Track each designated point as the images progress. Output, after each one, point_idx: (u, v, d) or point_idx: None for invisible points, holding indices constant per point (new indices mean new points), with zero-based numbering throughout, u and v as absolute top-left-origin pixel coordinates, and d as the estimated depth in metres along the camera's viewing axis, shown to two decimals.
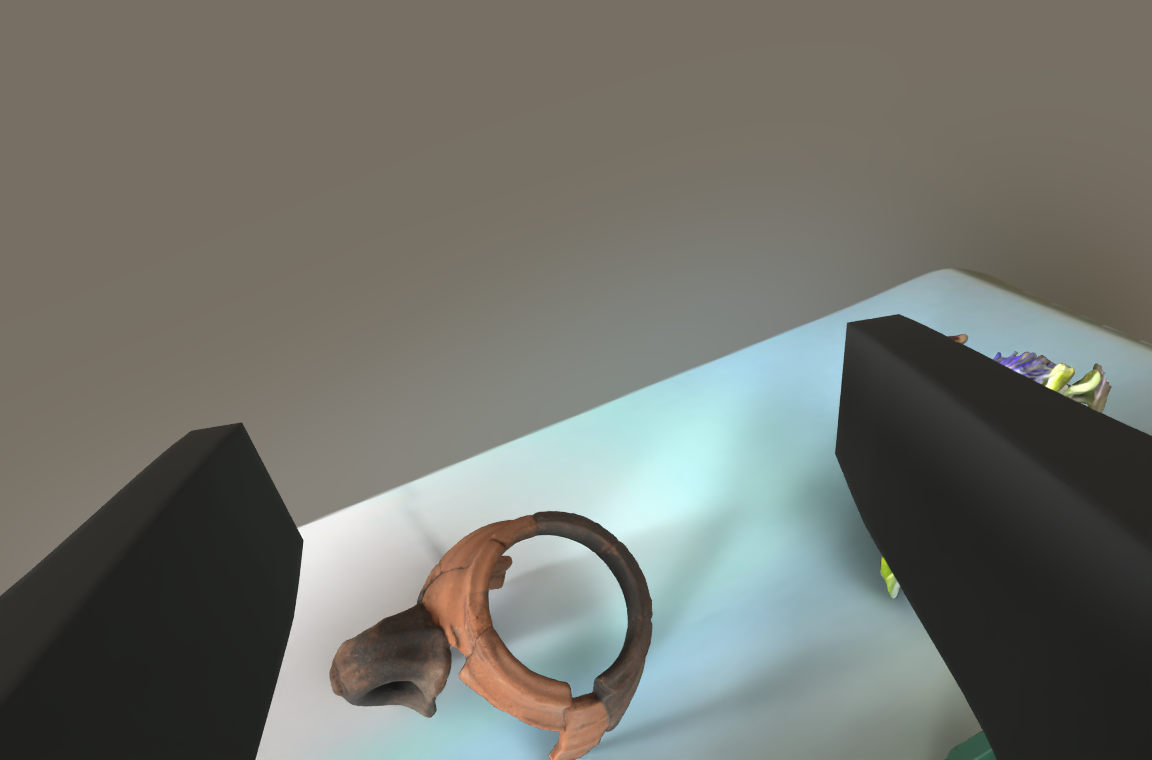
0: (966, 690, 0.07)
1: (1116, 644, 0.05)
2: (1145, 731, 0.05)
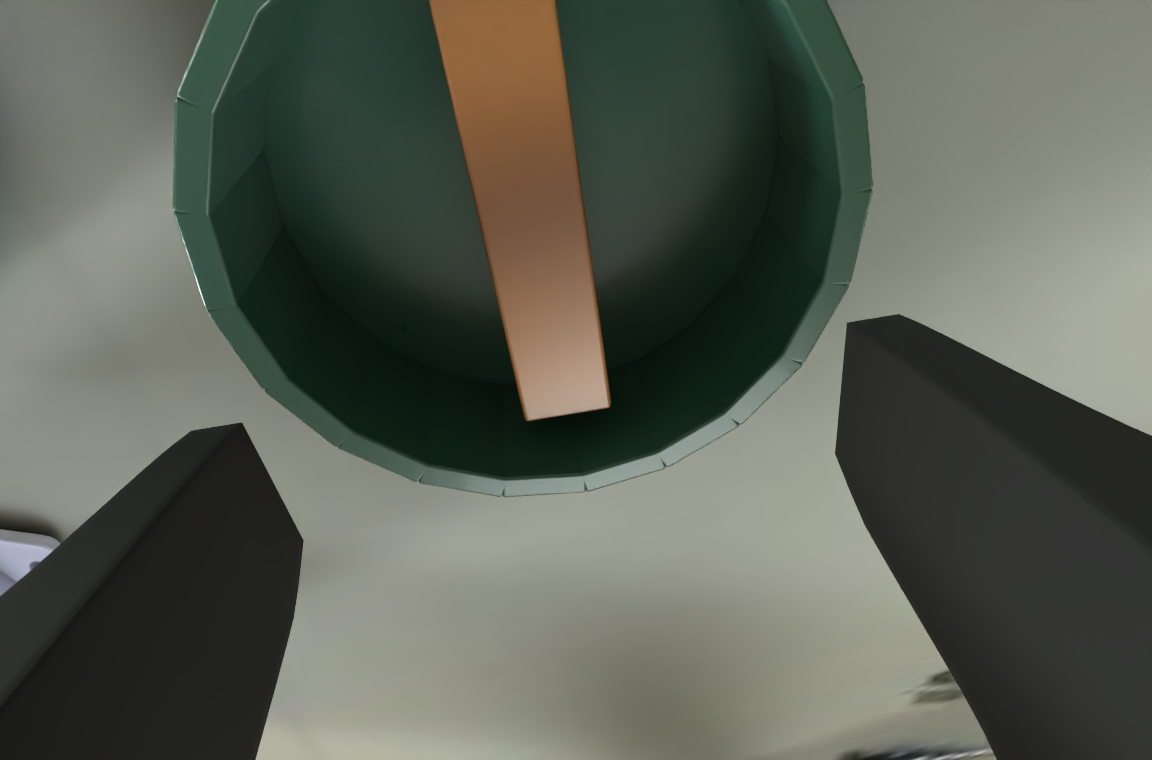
0: (965, 691, 0.07)
1: (1115, 644, 0.05)
2: (1144, 731, 0.05)
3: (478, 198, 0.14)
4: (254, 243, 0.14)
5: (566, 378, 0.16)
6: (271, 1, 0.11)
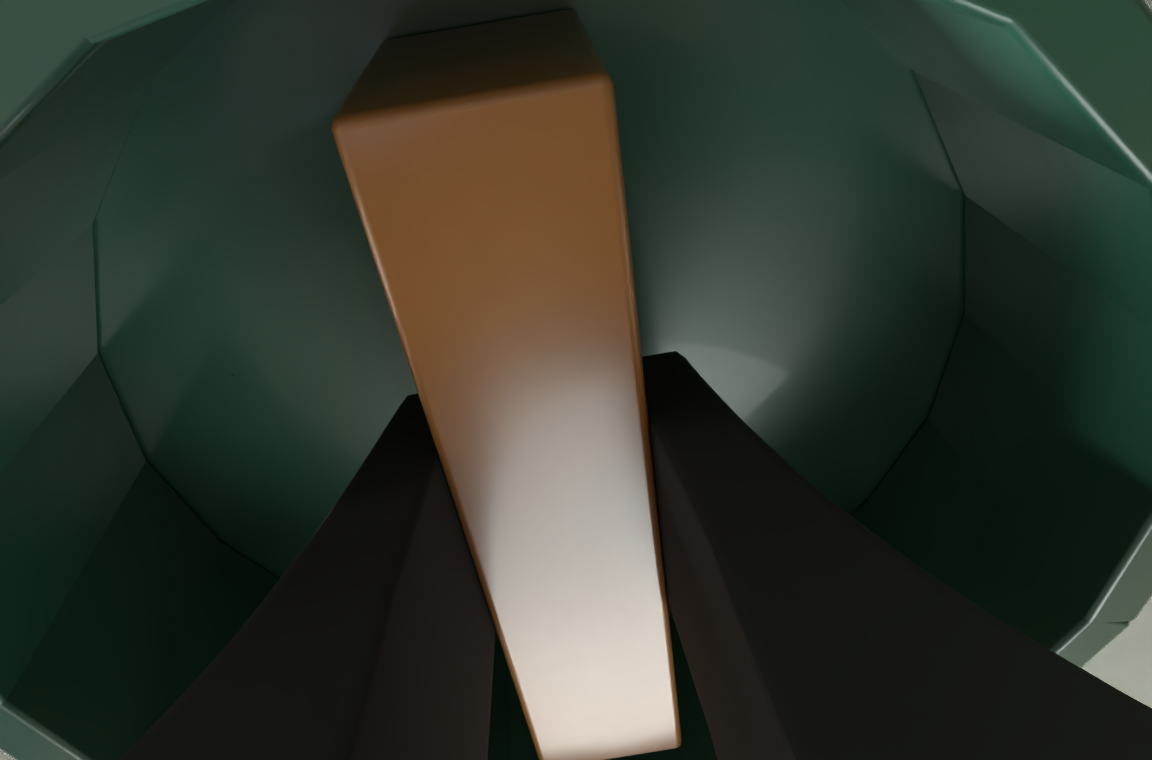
0: (710, 732, 0.07)
1: (741, 704, 0.05)
2: None
3: (460, 498, 0.07)
4: (65, 541, 0.08)
5: (611, 720, 0.10)
6: None
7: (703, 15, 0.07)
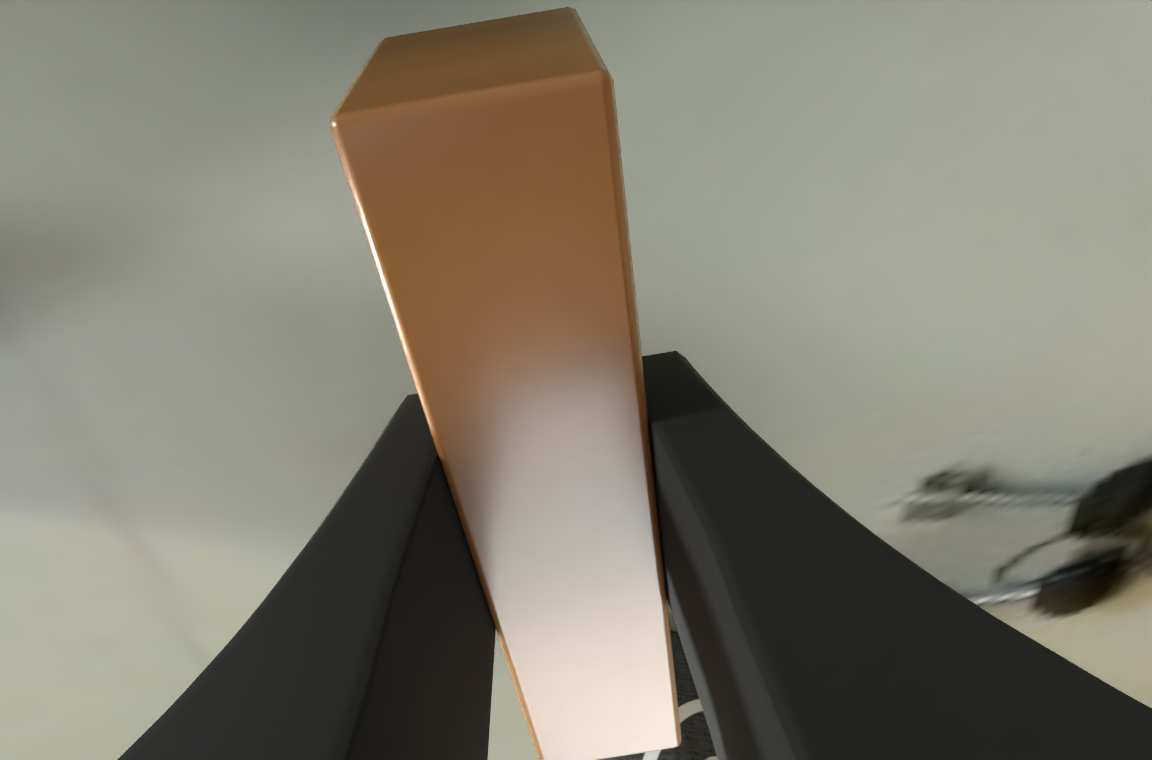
0: (711, 732, 0.07)
1: (741, 704, 0.05)
2: None
3: (460, 496, 0.07)
4: None
5: (611, 719, 0.10)
6: None
7: None
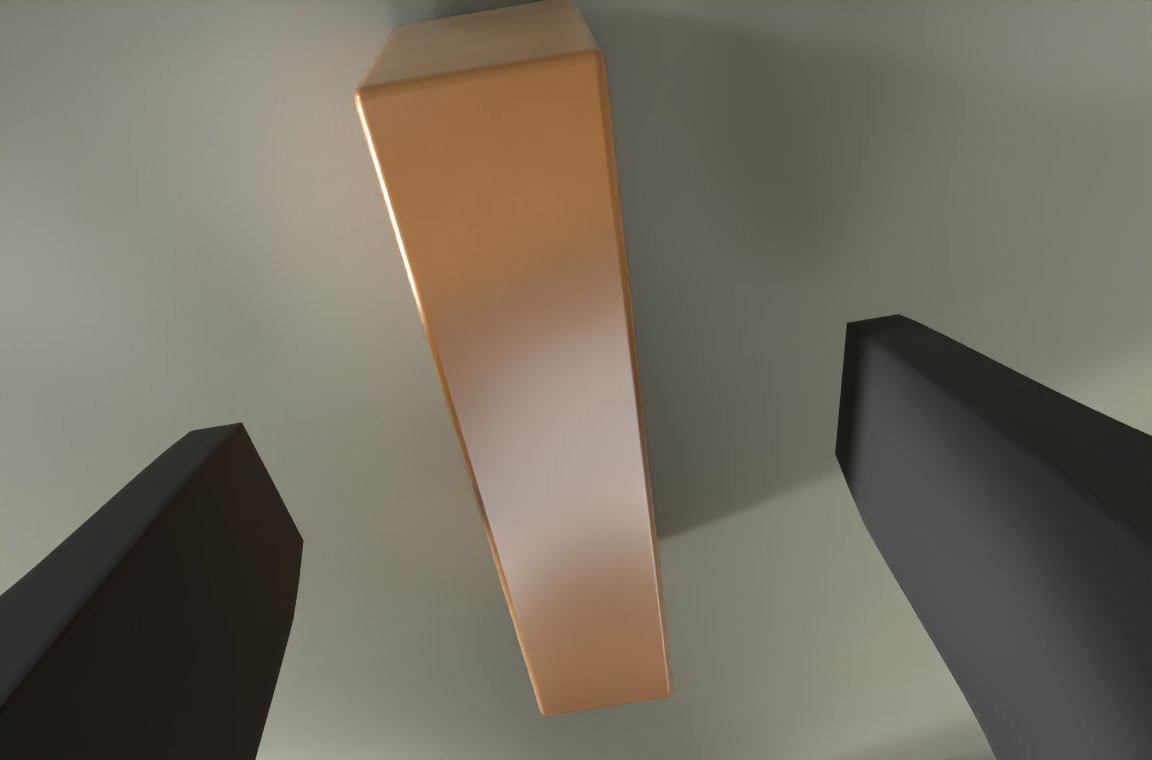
0: (965, 691, 0.07)
1: (1115, 643, 0.05)
2: (1144, 730, 0.05)
3: (466, 445, 0.08)
4: None
5: (606, 666, 0.10)
6: None
7: None
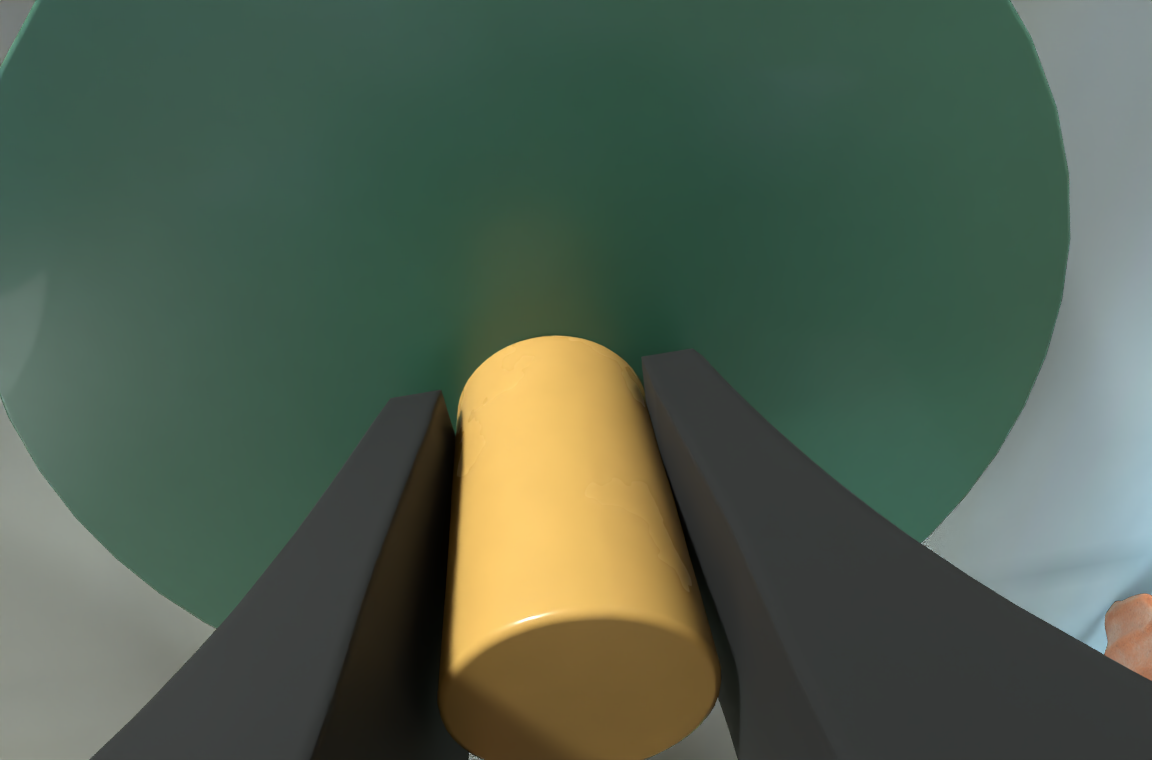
0: (730, 728, 0.07)
1: (769, 700, 0.05)
2: None
3: None
4: None
5: None
6: None
7: None
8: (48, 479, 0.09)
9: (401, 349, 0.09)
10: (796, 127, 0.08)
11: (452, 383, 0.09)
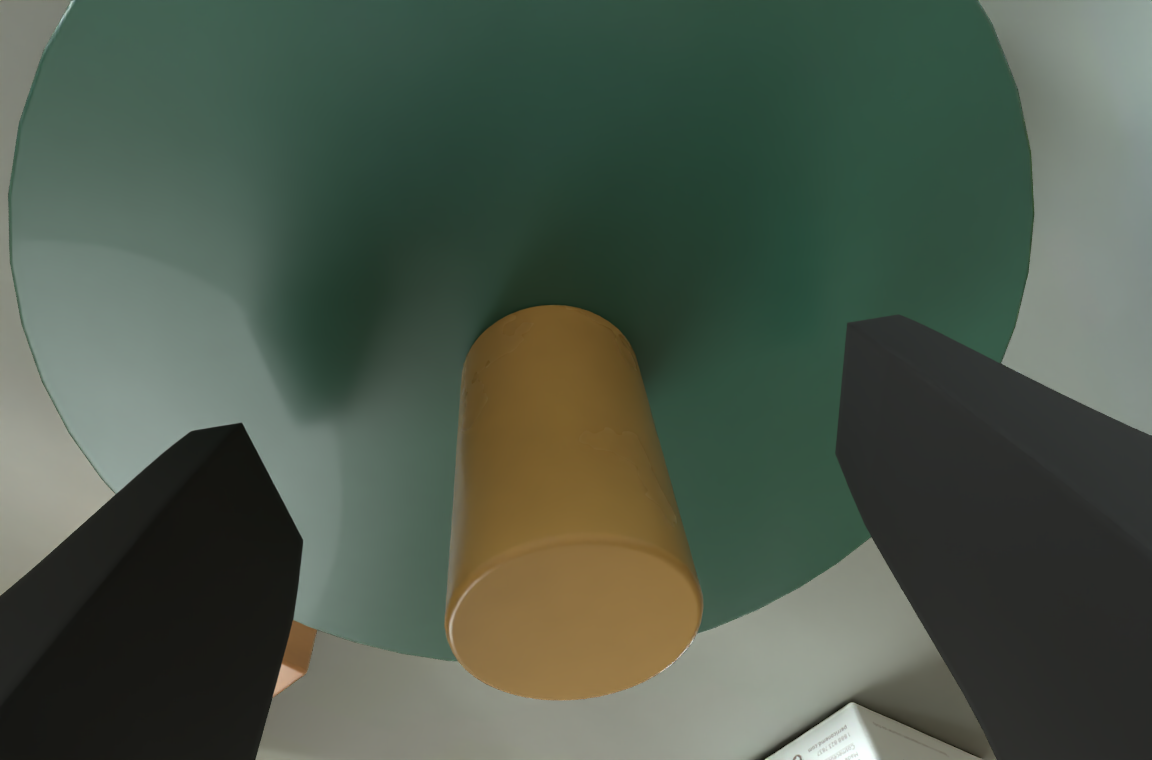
0: (965, 691, 0.07)
1: (1115, 644, 0.05)
2: (1144, 731, 0.05)
3: None
4: None
5: None
6: None
7: None
8: (77, 441, 0.10)
9: (409, 317, 0.09)
10: (776, 108, 0.08)
11: (456, 350, 0.10)
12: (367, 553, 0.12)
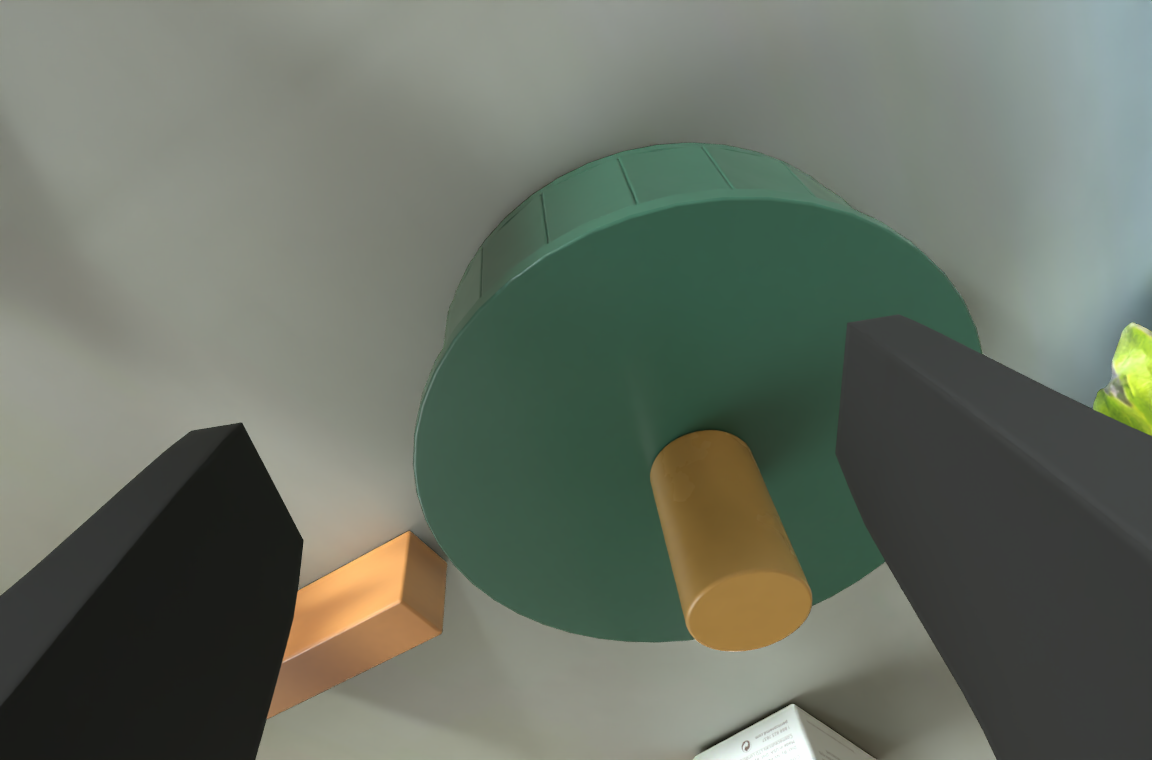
0: (966, 692, 0.07)
1: (1115, 644, 0.05)
2: (1144, 731, 0.05)
3: (306, 650, 0.22)
4: None
5: None
6: None
7: None
8: (416, 470, 0.16)
9: (637, 427, 0.16)
10: None
11: (655, 447, 0.16)
12: (553, 556, 0.18)
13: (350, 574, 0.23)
